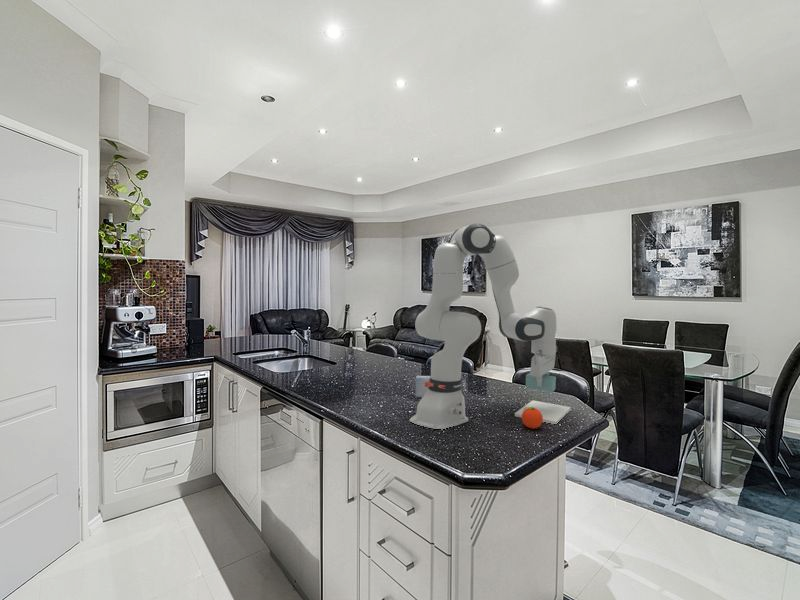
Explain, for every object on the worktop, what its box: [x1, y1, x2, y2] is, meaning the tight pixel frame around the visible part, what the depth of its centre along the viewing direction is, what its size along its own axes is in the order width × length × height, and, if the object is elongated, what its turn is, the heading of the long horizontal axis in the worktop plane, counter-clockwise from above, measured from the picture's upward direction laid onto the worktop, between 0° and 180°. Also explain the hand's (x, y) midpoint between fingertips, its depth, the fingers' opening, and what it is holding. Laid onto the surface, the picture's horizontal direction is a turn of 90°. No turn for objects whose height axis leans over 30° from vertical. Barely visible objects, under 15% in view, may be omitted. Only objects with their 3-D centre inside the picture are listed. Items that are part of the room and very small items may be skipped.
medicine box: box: [414, 375, 431, 398], centre depth 172 cm, size 8×4×9 cm, turn 84°
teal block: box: [525, 372, 557, 393], centre depth 153 cm, size 5×5×10 cm
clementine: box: [521, 407, 543, 429], centre depth 136 cm, size 8×7×7 cm
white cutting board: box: [514, 399, 571, 425], centre depth 152 cm, size 22×15×1 cm
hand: (542, 384), depth 153 cm, fingers closed on teal block, 5 cm apart
